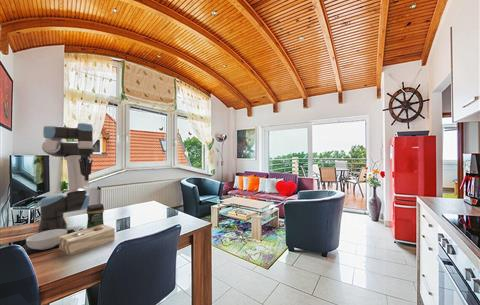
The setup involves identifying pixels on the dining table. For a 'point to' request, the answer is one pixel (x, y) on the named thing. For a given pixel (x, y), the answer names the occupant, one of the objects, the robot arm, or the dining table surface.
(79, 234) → the metal peg
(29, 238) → the cereal bowl
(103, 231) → the birch block
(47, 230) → the robot arm
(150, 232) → the dining table surface
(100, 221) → the coffee jar
